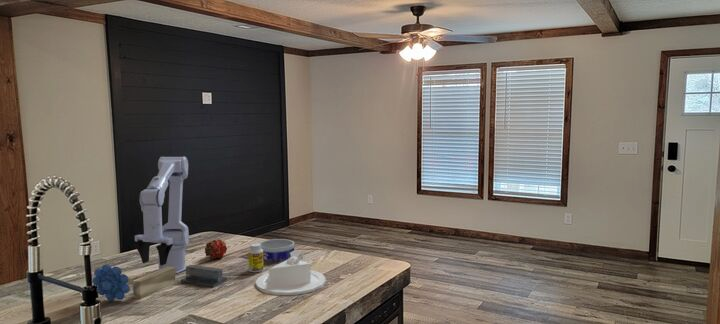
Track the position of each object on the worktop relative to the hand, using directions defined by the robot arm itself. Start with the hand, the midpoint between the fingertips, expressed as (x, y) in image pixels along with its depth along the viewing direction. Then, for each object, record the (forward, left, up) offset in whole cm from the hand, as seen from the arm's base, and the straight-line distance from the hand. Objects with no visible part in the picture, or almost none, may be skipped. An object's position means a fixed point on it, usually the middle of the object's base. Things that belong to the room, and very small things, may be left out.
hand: (154, 263), depth 160 cm
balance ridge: (+10, +13, -9) cm, 19 cm away
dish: (+40, +23, -10) cm, 47 cm away
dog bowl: (+19, +49, -10) cm, 53 cm away
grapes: (-6, -13, -10) cm, 17 cm away
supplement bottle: (+21, +30, -10) cm, 38 cm away
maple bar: (0, 0, -10) cm, 10 cm away
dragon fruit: (-4, +39, -10) cm, 40 cm away
